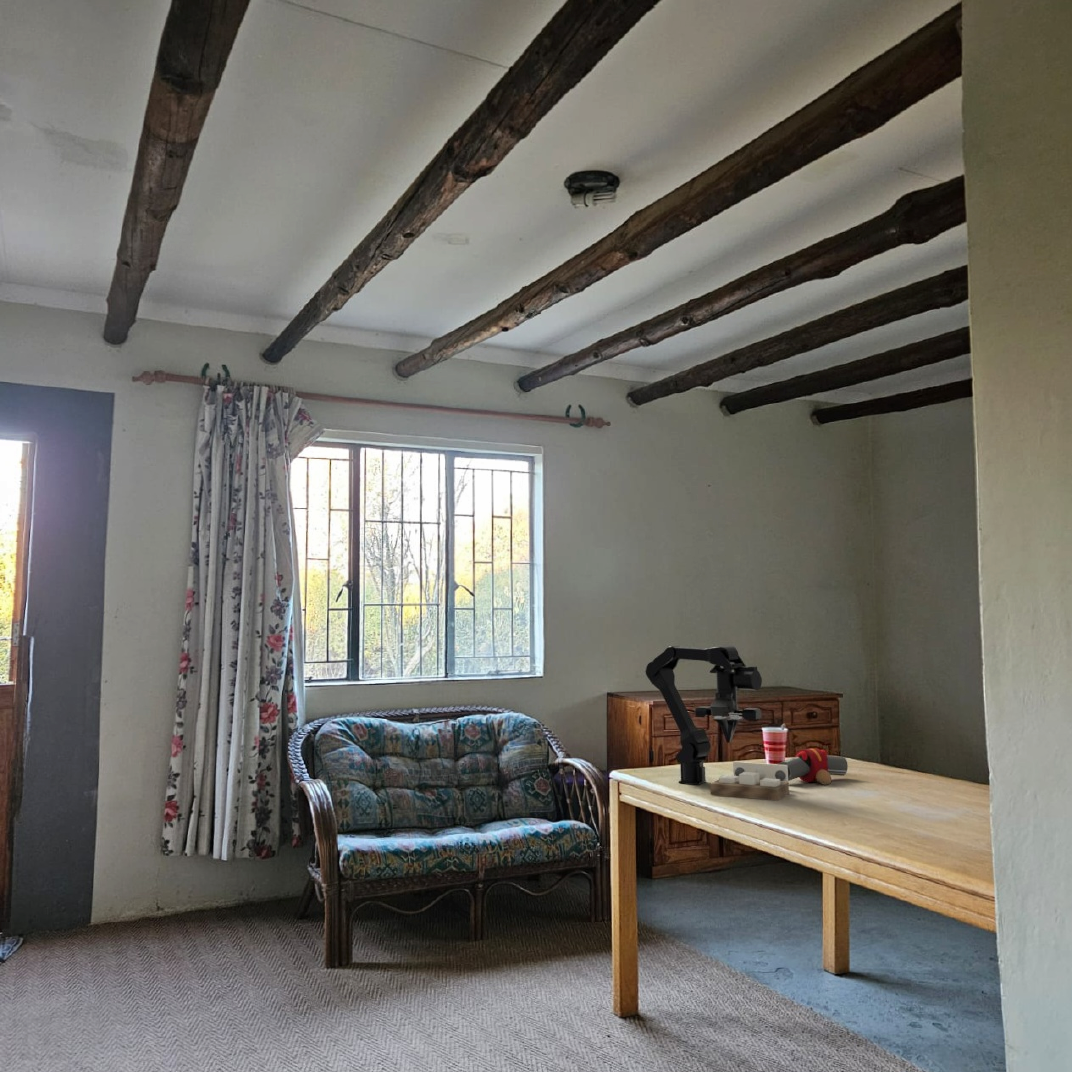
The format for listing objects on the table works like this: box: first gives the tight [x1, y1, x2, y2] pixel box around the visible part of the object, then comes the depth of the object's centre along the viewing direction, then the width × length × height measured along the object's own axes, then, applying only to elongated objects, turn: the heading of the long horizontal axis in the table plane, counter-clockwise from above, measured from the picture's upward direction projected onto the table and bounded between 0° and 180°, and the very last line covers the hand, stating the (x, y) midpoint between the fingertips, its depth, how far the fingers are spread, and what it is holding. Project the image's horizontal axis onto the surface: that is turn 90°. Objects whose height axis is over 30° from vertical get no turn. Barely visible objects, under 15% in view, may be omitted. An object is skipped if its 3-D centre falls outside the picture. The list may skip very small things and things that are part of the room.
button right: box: [760, 778, 781, 787], centre depth 255 cm, size 4×4×4 cm
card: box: [732, 761, 789, 783], centre depth 267 cm, size 16×1×7 cm, turn 59°
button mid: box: [739, 772, 760, 785], centre depth 258 cm, size 4×4×4 cm
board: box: [709, 779, 790, 801], centre depth 258 cm, size 19×11×3 cm, turn 58°
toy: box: [778, 747, 849, 786], centre depth 276 cm, size 23×10×15 cm
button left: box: [718, 774, 739, 784], centre depth 261 cm, size 4×4×4 cm
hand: (728, 742), depth 269 cm, fingers closed
